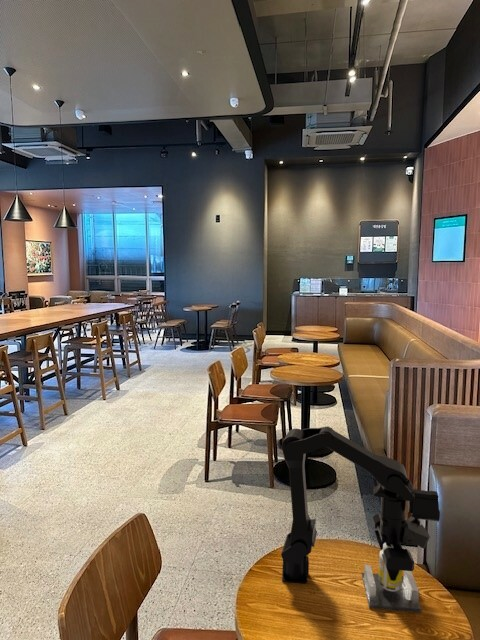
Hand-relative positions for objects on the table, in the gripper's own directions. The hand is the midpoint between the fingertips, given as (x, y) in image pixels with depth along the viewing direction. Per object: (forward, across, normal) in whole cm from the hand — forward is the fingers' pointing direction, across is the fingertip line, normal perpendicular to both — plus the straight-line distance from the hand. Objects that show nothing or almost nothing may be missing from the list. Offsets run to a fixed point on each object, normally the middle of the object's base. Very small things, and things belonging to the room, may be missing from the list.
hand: (390, 571), depth 107 cm
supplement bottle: (+4, 0, 0) cm, 4 cm away
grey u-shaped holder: (+6, 0, 0) cm, 6 cm away
